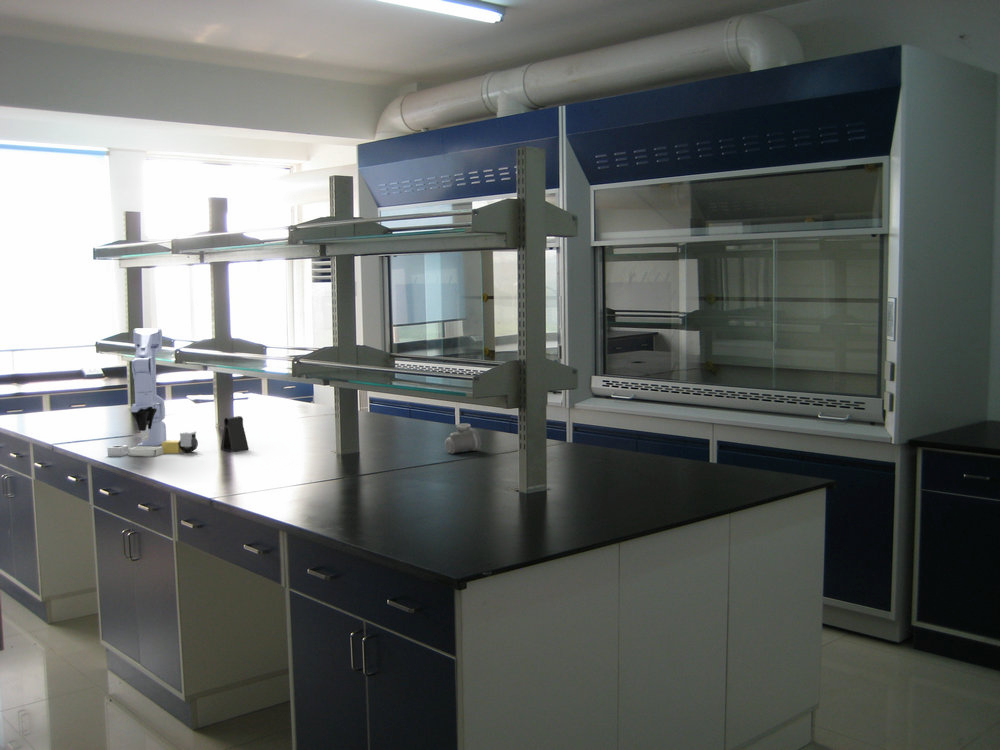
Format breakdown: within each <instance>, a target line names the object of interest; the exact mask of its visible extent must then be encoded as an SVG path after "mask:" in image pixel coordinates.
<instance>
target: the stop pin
mask: <svg viewBox="0 0 1000 750" xmlns="http://www.w3.org/2000/svg"><path fill="white" fill-rule="evenodd" d="M148 424H149V420H147V424H146V430H145V431H140V440H141V441H142V440H143V441H145V440H148Z"/></svg>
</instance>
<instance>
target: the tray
mask: <svg viewBox="0 0 1000 750" xmlns="http://www.w3.org/2000/svg"><path fill="white" fill-rule="evenodd" d="M128 453H129V454H128V457H157V456H158V457H159V456H160V455H164V454H165V453H164V448H163V447H162V446H138V445H136V446H134V447H130V448H128Z"/></svg>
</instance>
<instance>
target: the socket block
mask: <svg viewBox="0 0 1000 750" xmlns="http://www.w3.org/2000/svg"><path fill="white" fill-rule="evenodd" d="M128 449H129V445H128V444H127V445H124V444H114V445H111V446H109V447H107V456H108V457H123V456H125V455H129V453H128Z"/></svg>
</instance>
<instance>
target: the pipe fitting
mask: <svg viewBox="0 0 1000 750" xmlns="http://www.w3.org/2000/svg"><path fill="white" fill-rule="evenodd" d="M455 427H456V430H457V431H455V432H451V433H450V435H449V437H447V438H446V439H445V440H444V448H445V451H446V452H447V453H448V454H451V455H453V454H456V453H460V452H461V453H462V452H463V451H470V452H475V451H478V450H479V449H480V448H481V444H482V443H481V442H482V441H481V437H480V434H479V432H478V431H477V430H476V429H475V428H471V427H472V426H471V424H470V423H463V422H462V423H458V424H457V425H456V426H455Z"/></svg>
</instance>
